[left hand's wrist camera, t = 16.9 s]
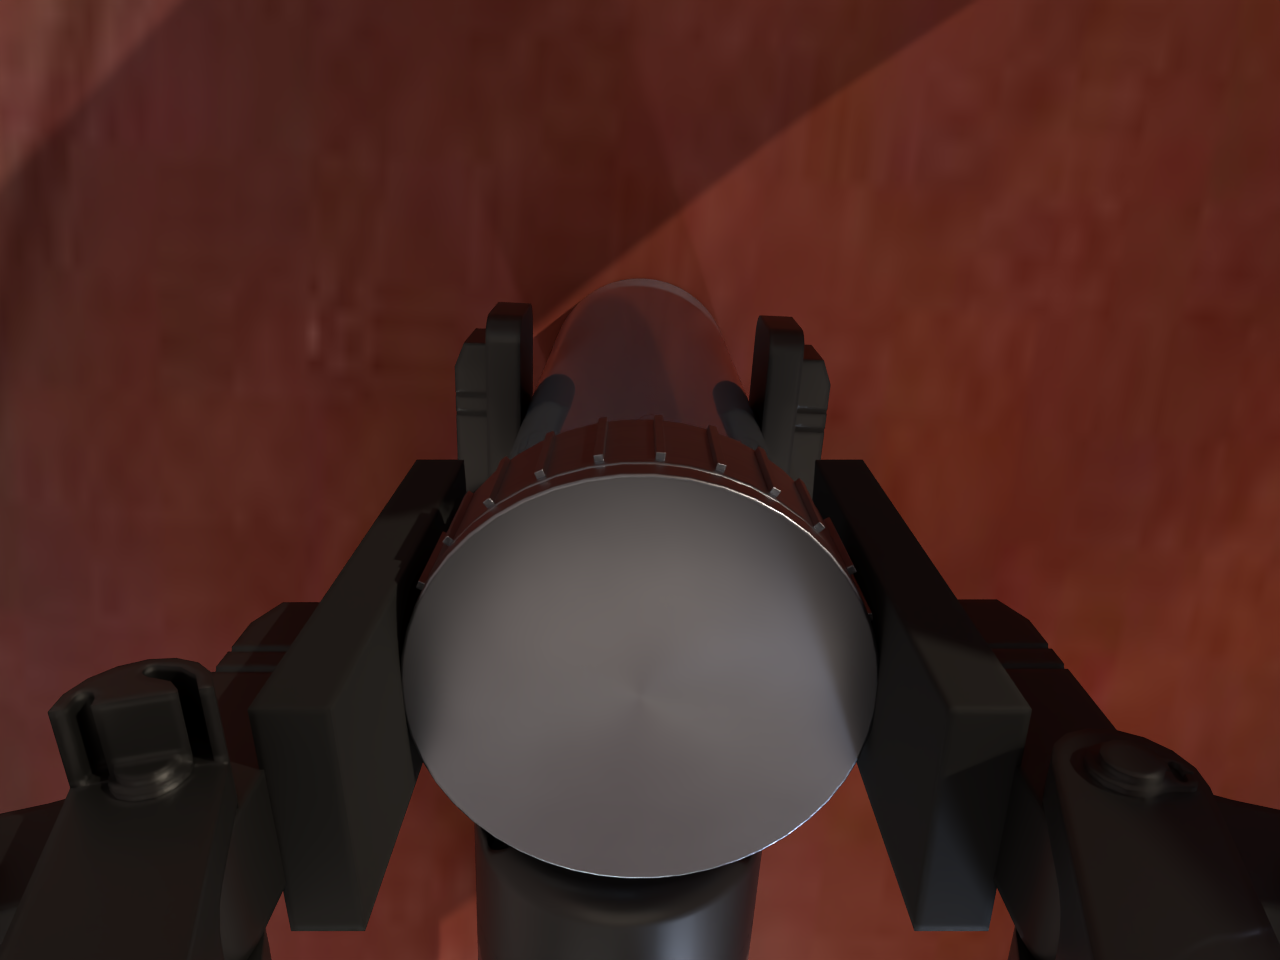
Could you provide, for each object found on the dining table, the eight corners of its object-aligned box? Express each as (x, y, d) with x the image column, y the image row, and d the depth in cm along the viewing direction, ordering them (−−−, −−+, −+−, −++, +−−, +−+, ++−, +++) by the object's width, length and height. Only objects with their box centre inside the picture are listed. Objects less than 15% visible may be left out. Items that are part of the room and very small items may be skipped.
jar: (581, 253, 24) (497, 430, 10) (752, 310, 24) (906, 555, 10) (532, 419, 26) (399, 773, 11) (692, 468, 26) (755, 864, 12)
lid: (389, 721, 13) (348, 820, 11) (492, 352, 11) (461, 397, 9) (757, 819, 14) (777, 928, 12) (918, 489, 12) (971, 557, 10)
